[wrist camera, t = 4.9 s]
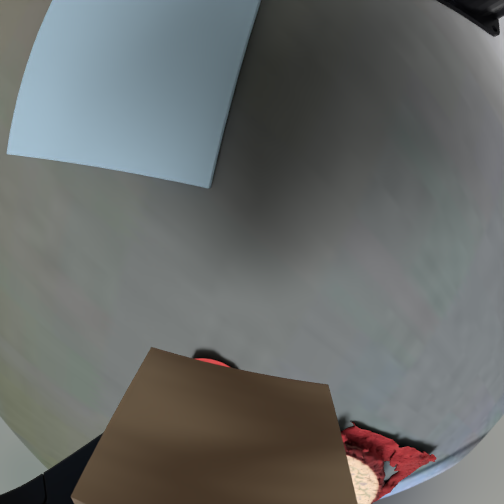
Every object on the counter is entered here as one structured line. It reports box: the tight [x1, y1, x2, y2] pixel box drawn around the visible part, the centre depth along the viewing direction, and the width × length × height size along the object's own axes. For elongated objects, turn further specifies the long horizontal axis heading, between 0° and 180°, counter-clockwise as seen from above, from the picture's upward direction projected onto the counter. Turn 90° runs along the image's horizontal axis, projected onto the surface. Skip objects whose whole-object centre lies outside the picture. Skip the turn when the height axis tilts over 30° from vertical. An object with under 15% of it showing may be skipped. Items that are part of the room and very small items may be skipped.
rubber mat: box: [7, 0, 261, 188], centre depth 12 cm, size 14×14×1 cm
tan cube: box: [71, 347, 358, 504], centre depth 6 cm, size 5×5×5 cm
